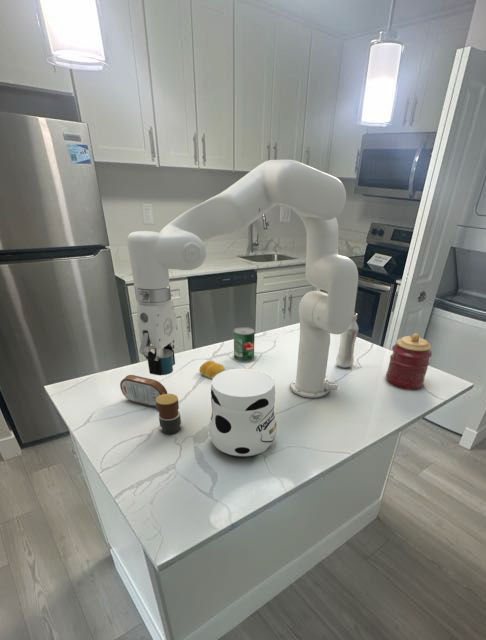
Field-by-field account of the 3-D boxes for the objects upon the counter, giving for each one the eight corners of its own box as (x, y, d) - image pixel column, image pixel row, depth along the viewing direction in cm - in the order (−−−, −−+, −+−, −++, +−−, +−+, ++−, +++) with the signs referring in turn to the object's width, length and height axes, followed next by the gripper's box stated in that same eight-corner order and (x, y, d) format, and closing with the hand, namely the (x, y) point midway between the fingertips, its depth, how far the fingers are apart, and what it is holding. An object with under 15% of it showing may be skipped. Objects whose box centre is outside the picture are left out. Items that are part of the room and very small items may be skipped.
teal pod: (178, 368, 95) (176, 350, 92) (167, 377, 90) (165, 358, 88) (158, 365, 96) (156, 347, 93) (146, 373, 91) (144, 355, 89)
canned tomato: (236, 353, 149) (236, 326, 143) (255, 354, 148) (256, 327, 142) (231, 361, 142) (231, 333, 136) (252, 363, 141) (252, 334, 135)
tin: (169, 405, 113) (166, 380, 108) (164, 410, 111) (160, 385, 106) (127, 396, 117) (122, 371, 112) (121, 400, 114) (116, 375, 110)
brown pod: (183, 411, 102) (181, 395, 99) (173, 421, 97) (171, 405, 95) (164, 407, 103) (162, 392, 100) (154, 417, 98) (151, 402, 96)
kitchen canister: (409, 394, 125) (423, 344, 116) (377, 380, 133) (388, 332, 124) (429, 383, 133) (444, 335, 123) (398, 370, 141) (409, 324, 131)
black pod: (185, 425, 105) (183, 410, 102) (175, 436, 100) (173, 421, 97) (167, 422, 106) (165, 407, 103) (156, 432, 101) (154, 417, 98)
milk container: (284, 457, 94) (289, 394, 84) (216, 468, 90) (212, 403, 80) (266, 421, 108) (268, 363, 98) (206, 428, 104) (201, 369, 94)
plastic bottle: (355, 365, 143) (364, 313, 132) (348, 371, 138) (357, 317, 127) (339, 361, 146) (347, 309, 135) (332, 366, 141) (339, 314, 130)
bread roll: (213, 381, 128) (213, 370, 125) (196, 373, 132) (195, 363, 130) (230, 373, 133) (230, 363, 131) (213, 366, 137) (212, 356, 135)
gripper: (147, 306, 75) (158, 386, 85) (186, 287, 89) (191, 358, 99) (114, 302, 77) (129, 381, 87) (157, 284, 91) (166, 354, 100)
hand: (162, 368), depth 93 cm, fingers closed on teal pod, 5 cm apart
